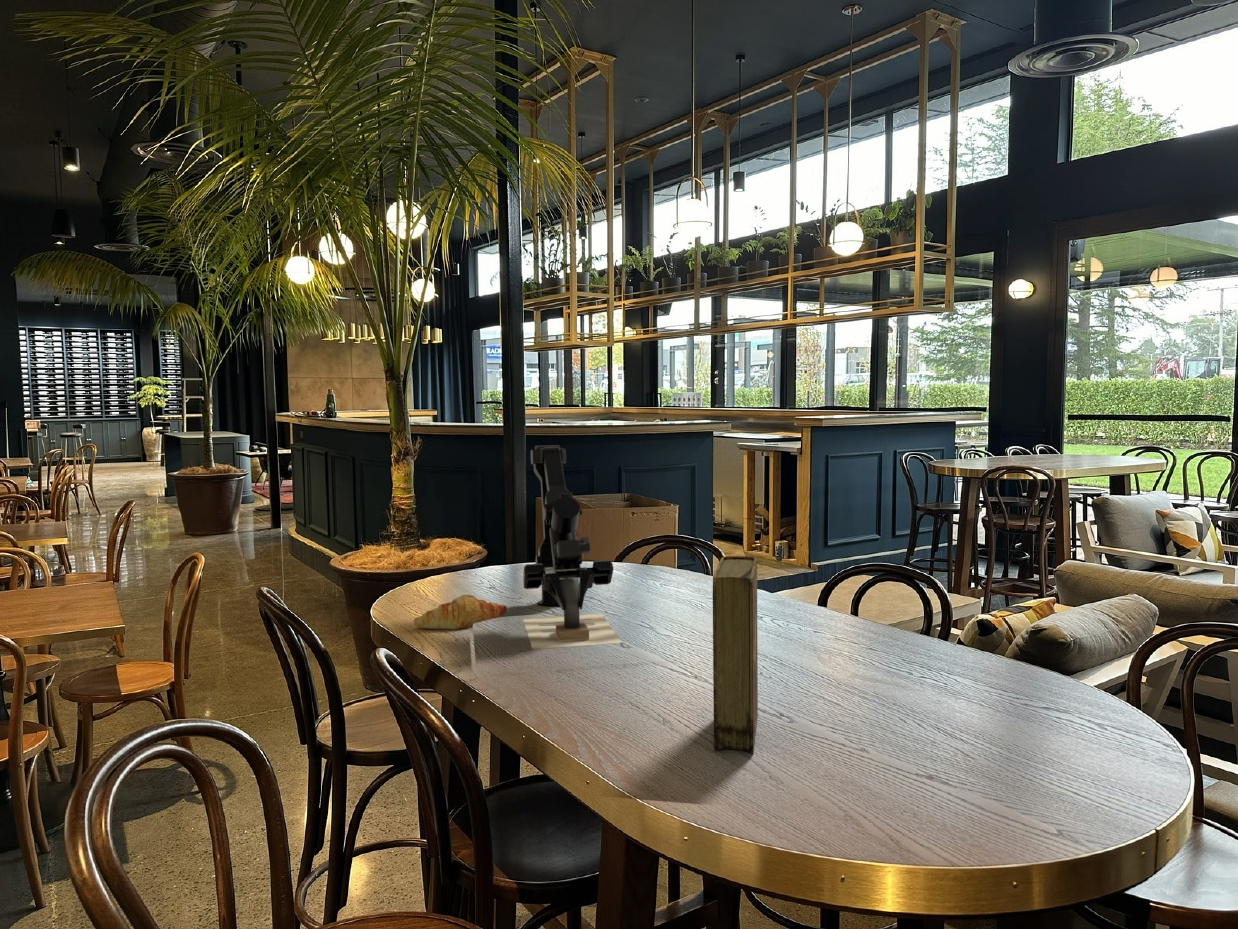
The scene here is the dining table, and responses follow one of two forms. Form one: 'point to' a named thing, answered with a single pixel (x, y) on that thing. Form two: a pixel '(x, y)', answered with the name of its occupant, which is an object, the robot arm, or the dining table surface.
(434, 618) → the croissant
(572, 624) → the grey post on base
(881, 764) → the dining table surface
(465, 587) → the dining table surface
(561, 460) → the robot arm
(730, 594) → the book
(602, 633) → the birch board
